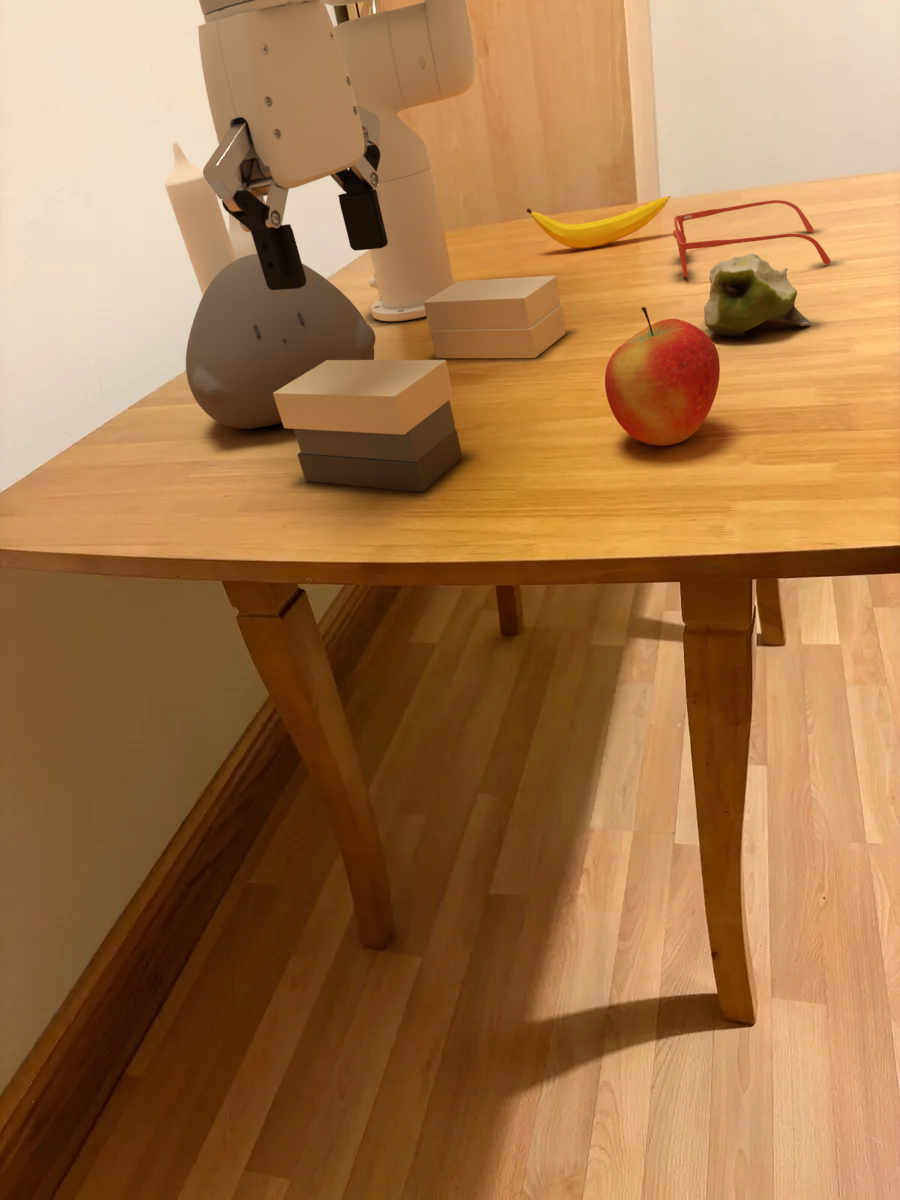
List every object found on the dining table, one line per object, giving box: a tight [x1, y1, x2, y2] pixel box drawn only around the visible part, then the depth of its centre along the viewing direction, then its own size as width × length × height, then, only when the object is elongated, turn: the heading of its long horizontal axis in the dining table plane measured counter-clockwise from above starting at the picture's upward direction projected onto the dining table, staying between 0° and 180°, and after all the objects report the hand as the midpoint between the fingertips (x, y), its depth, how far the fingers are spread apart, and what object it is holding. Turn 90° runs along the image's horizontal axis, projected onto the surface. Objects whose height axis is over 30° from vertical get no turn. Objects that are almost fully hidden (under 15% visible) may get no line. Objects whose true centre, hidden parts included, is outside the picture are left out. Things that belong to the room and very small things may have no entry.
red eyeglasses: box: [672, 199, 832, 278], centre depth 102 cm, size 17×16×5 cm
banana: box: [526, 195, 671, 250], centre depth 121 cm, size 3×19×6 cm, turn 76°
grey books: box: [293, 399, 463, 493], centre depth 72 cm, size 12×6×5 cm, turn 58°
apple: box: [604, 306, 721, 447], centre depth 65 cm, size 8×8×10 cm
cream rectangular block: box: [273, 359, 454, 435], centre depth 70 cm, size 12×7×3 cm, turn 58°
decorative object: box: [185, 254, 376, 430], centre depth 87 cm, size 18×18×15 cm
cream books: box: [424, 275, 566, 359], centre depth 93 cm, size 12×7×6 cm, turn 58°
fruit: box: [703, 253, 812, 338], centre depth 82 cm, size 9×9×8 cm
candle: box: [164, 141, 237, 296], centre depth 93 cm, size 7×7×25 cm
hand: (330, 267), depth 65 cm, fingers open, 9 cm apart
